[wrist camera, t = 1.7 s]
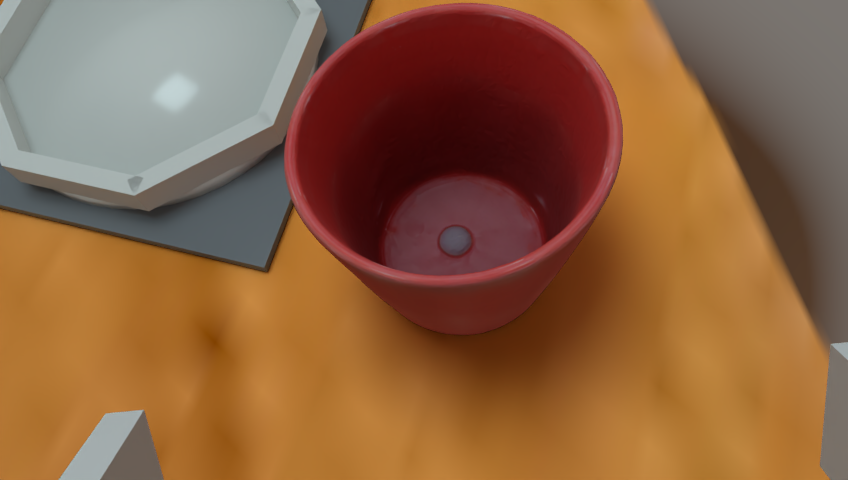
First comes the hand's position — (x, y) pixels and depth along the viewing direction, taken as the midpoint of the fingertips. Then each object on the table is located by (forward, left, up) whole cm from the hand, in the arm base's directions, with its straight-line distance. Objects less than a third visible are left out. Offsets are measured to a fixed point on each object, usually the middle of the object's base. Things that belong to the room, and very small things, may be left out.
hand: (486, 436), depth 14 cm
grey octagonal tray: (-21, +16, -15) cm, 30 cm away
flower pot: (-4, +10, -15) cm, 19 cm away
